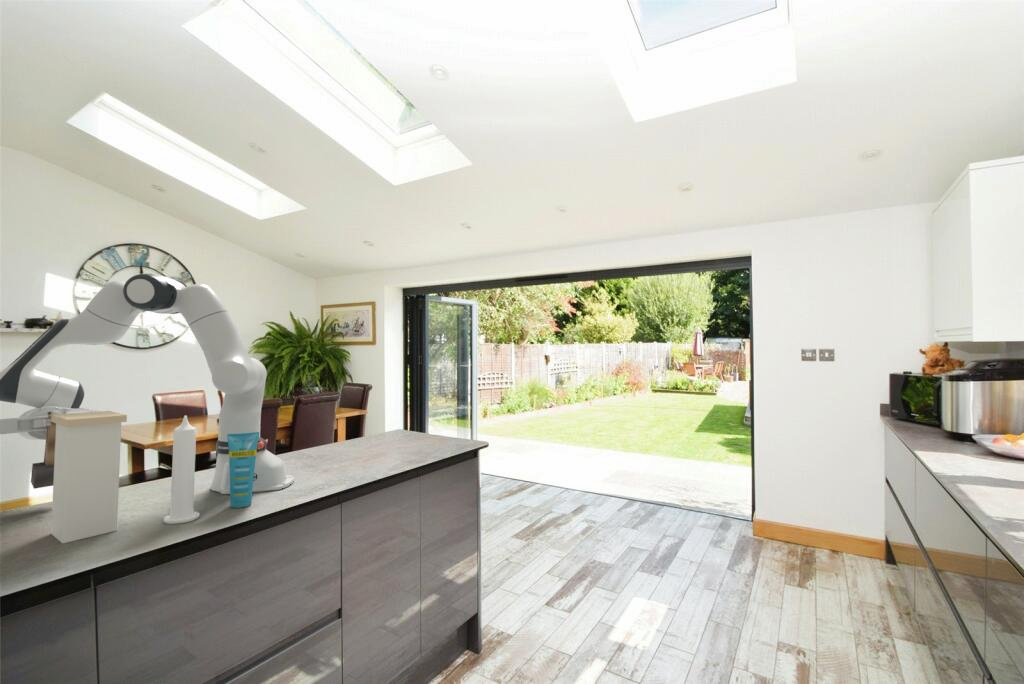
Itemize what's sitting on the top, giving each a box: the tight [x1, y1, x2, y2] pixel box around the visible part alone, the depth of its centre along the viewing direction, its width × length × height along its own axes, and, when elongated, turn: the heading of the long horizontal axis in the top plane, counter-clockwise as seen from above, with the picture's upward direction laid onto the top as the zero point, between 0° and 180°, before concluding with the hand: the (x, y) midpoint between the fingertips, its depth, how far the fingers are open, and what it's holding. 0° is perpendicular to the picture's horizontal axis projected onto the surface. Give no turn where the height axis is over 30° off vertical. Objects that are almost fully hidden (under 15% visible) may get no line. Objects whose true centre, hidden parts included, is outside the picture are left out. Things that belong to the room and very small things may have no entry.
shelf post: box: [50, 410, 128, 544], centre depth 104 cm, size 12×10×26 cm
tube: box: [227, 431, 261, 509], centre depth 123 cm, size 7×5×19 cm, turn 123°
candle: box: [163, 415, 200, 525], centre depth 113 cm, size 7×7×25 cm
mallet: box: [30, 413, 65, 490], centre depth 119 cm, size 7×18×4 cm
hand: (59, 421), depth 117 cm, fingers closed on mallet, 3 cm apart
